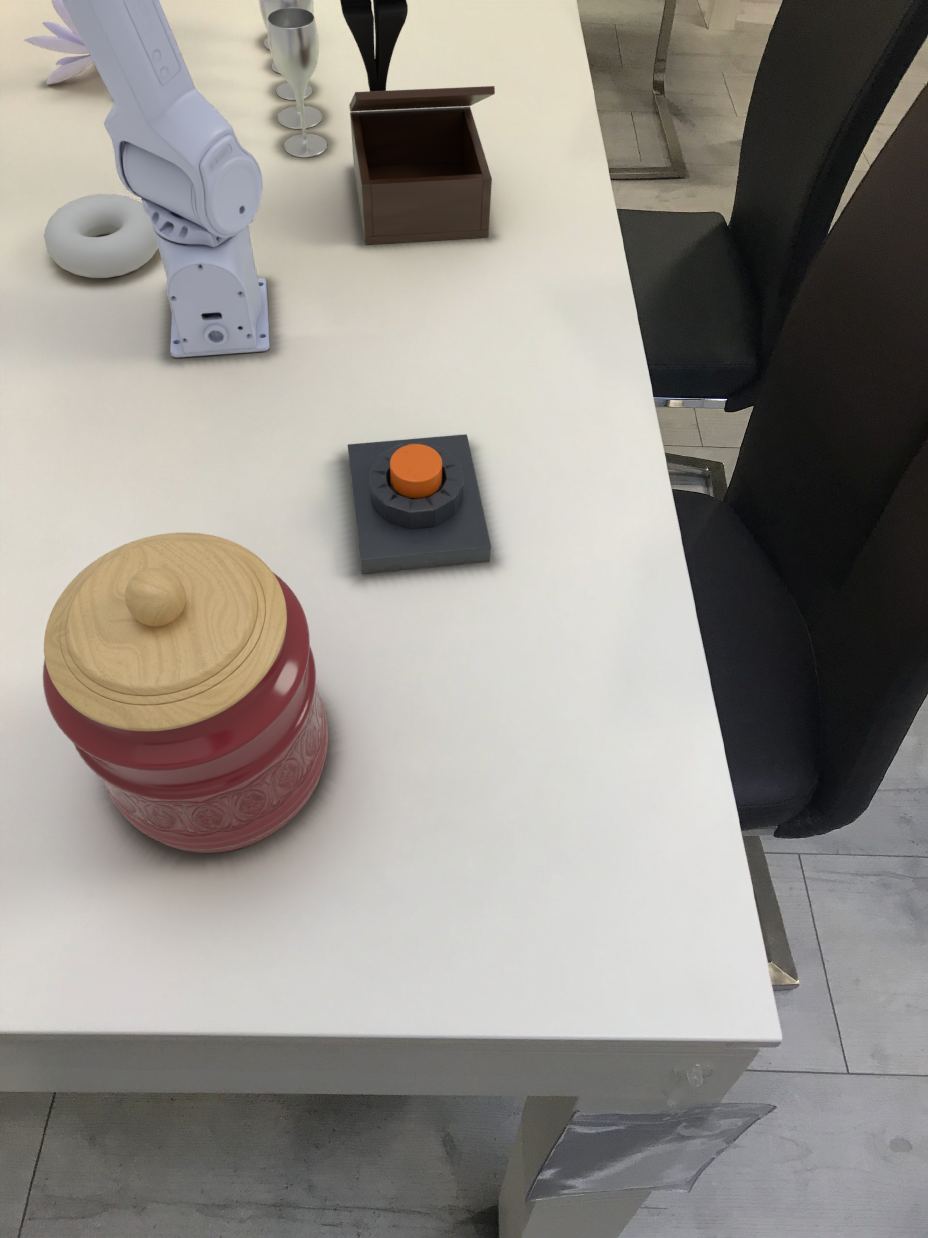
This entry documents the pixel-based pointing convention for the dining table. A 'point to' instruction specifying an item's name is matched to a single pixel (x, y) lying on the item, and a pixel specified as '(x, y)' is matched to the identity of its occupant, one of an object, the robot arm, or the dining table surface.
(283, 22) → the goblet set
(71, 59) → the water lily
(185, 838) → the kitchen canister
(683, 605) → the dining table surface
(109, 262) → the donut
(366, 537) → the control block
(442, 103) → the lid
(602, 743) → the dining table surface
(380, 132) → the brown wooden box
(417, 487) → the button
